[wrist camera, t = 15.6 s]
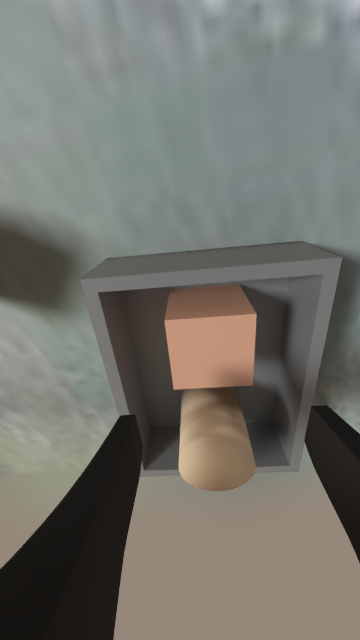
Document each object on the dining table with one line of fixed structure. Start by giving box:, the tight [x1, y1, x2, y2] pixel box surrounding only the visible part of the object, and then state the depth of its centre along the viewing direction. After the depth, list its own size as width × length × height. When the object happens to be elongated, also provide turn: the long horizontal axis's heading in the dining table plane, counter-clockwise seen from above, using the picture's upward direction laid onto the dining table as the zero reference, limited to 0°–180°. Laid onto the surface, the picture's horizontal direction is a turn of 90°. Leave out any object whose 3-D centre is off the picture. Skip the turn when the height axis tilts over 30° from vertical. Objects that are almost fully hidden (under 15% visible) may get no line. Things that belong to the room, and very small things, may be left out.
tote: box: [80, 241, 343, 476], centre depth 19 cm, size 14×18×5 cm
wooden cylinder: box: [179, 386, 256, 491], centre depth 19 cm, size 5×5×7 cm
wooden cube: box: [164, 284, 257, 390], centre depth 17 cm, size 5×5×5 cm
